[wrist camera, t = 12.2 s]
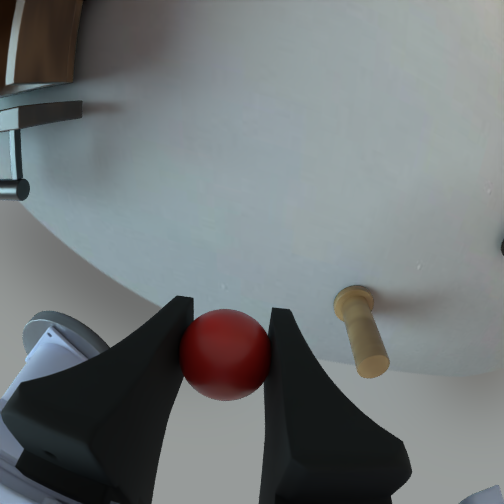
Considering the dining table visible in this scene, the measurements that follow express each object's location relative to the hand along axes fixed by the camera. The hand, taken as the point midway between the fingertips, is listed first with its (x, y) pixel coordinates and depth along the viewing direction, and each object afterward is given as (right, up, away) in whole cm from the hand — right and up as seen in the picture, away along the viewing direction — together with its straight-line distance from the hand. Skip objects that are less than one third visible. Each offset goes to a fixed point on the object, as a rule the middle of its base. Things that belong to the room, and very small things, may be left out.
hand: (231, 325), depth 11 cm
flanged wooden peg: (+8, -1, +11) cm, 14 cm away
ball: (0, 0, 0) cm, 0 cm away
